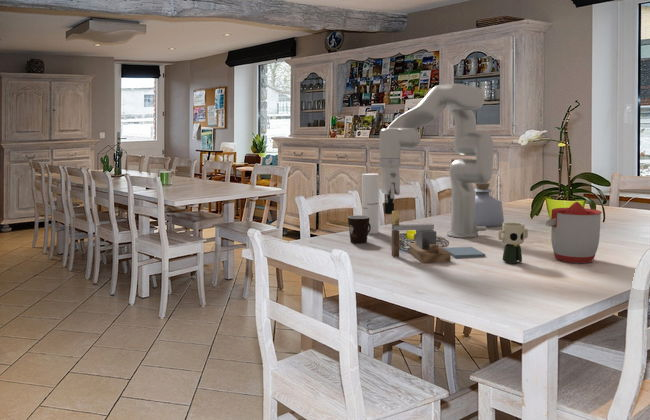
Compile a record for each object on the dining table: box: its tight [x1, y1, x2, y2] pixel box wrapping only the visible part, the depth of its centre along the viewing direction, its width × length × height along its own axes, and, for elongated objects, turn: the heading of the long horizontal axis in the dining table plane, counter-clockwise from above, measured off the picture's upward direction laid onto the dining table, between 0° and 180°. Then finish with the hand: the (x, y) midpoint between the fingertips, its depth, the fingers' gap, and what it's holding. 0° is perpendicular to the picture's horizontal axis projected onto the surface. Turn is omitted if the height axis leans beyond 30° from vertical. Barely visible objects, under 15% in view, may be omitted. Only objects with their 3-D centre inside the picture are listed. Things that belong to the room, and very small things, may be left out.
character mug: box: [497, 222, 529, 264], centre depth 205 cm, size 11×7×13 cm, turn 106°
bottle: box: [474, 182, 505, 228], centre depth 282 cm, size 20×20×19 cm
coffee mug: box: [347, 214, 371, 245], centre depth 240 cm, size 12×9×10 cm
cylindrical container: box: [361, 172, 380, 235], centre depth 262 cm, size 7×7×25 cm
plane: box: [391, 229, 452, 264], centre depth 217 cm, size 17×24×9 cm
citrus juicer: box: [545, 201, 603, 264], centre depth 207 cm, size 16×17×20 cm
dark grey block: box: [415, 229, 437, 249], centre depth 217 cm, size 5×8×6 cm, turn 7°
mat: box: [442, 246, 486, 259], centre depth 220 cm, size 11×13×1 cm
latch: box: [391, 210, 435, 231], centre depth 216 cm, size 15×3×7 cm, turn 97°
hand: (389, 213), depth 223 cm, fingers closed
